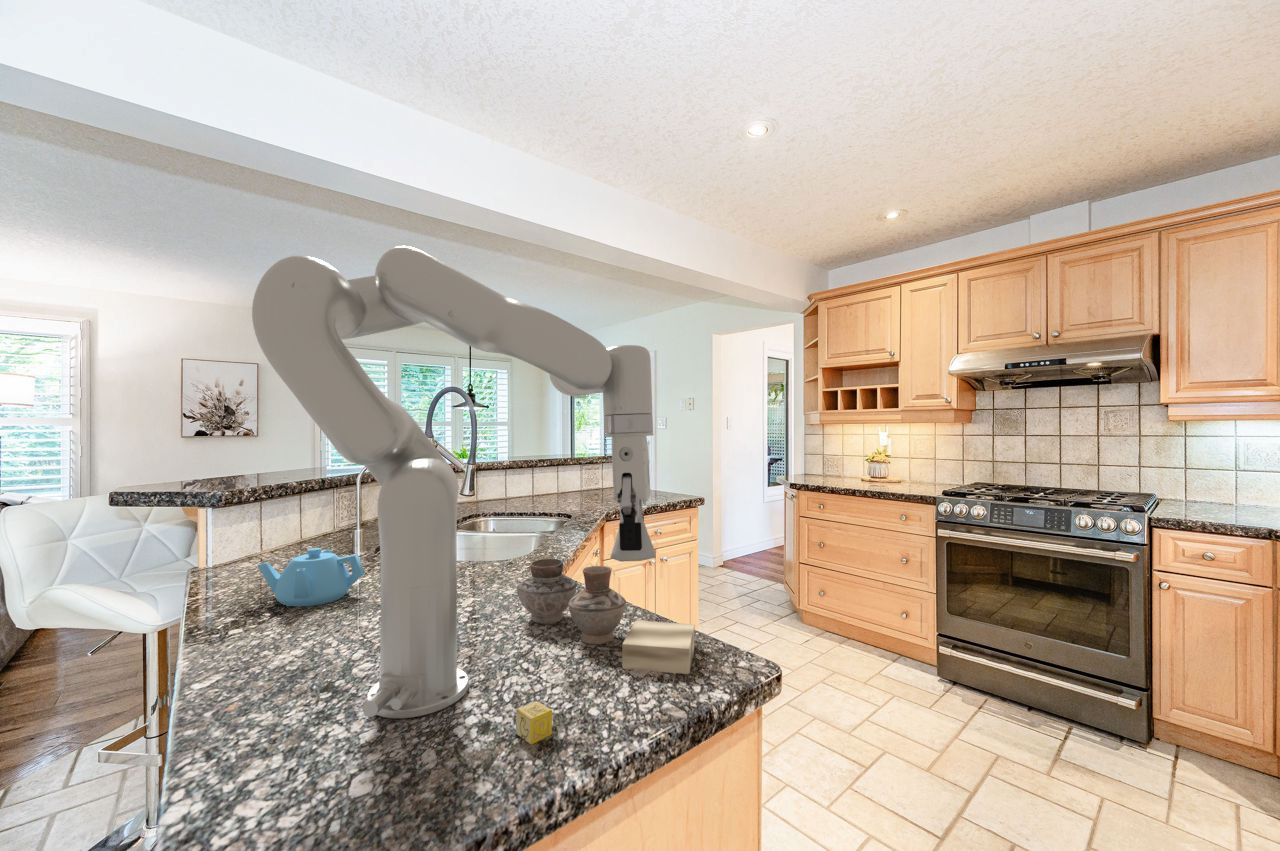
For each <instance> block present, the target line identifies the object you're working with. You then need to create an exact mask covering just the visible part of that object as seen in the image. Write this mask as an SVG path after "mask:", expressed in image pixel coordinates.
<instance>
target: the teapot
mask: <svg viewBox="0 0 1280 851" xmlns="http://www.w3.org/2000/svg"><path fill="white" fill-rule="evenodd" d="M322 551H323V552H322ZM332 551H333V550H332V549H324V550H323V548H321V547H313V548H307V550H306V553H307V554H302V555H298V556H295V557H293V558H292V559H290V561H289V562H288V564H286V567H285V568H284V569H283V571H281V574H280V573H279V572H278V571H277V570H276V569H275V568H274V567H273V566H272V565H271V564H270V563H269V562H263V563H259V564H258V565H257V567H258V569H259V571H260V572H261V574H262V576H263V577H264V579H265V581H266V583H267V584H268V586H269V588H270V589H271V591H272V593H273V594H274V597H275V600H276V601H278V603H280V604H281V605H282V604H283V606H284V605H286V606H285V607H288V606H307V607H313V606H314V605H315V606H319V605H320V606H321V605H324V604H329V603H332V602H335V601H337V600H340V599H342V598H343V597H344V596H345V595H346V594H347V593H348V592H349V590H350V589H351V587H352V585H353V584H355V583H356V582H357V581H358V580H359V579H360V578H361V577H362V576H363V575H365V574H366V573H365V570H364V566H363V565H362V561H361V559H360V556H359V554H358V553H356V554H351V555H346V556H342V557H339V556H338V555H337V554H336V553H334V552H332ZM346 563H349V565H350V569H351V571H352V573H351V574H350V572H349V571H348V568H347V566H346V565H345V564H346ZM341 597H342V598H341Z"/></svg>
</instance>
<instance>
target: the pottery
mask: <svg viewBox="0 0 1280 851" xmlns="http://www.w3.org/2000/svg"><path fill="white" fill-rule="evenodd" d="M529 566H530V573H531V575H530V576H528V577H527V578H526V579H524V580H523V581H522V582H519V583H518V585H517V586H516V591H517V592H516V594H517V596H518V599H519V602H520V603H521V605H522V606H523V608H524V609H525V610H526V611H527V612H528V613H530V614H531V621H532V622H534V623H536V624H542V625H543V624H554V623H557V622H559V621H561V620H563V617H564V616H563V614H564V613H563V612H564V611H566V610H567V608H568V609H569V614H570V616H571V620H572V621H573V623H574V625H575V626H576V628H577V629H578V630H579V631H581V636H580V640H581V641H582V642H583V643H585V644H588V645H605V644H608V643H611V642H612V641H614V639H615V635H614V630H615V629H617V628H618V626H619V624H620V623H621V620H622V618H623V616H624V614H625V613H624V612H625V609H626V604H627V601H626V599H625V597H623V595H621V594H620V593H619V592H617V591H615V590H614V589H613V588H611V587H610V580H611V575H612V572H613V568H612V567H610V566H604V565H603V566H602V565H594V566H593V565H592V566H586V567H584V568H582V573H583V578H584V586H585V588H584V589H582V590H581V591H580V592H578V593H577V594H576V592H577V589H578V588H577V586H578V585H577V584H578V583H577V582H576V581H575V580H574V579H572V578H571V577H569V576H567V575H565V574H563V570H564V569H563V568H564V562H563V560H562V559H558V558H541V559H537V560H533V561H531V562H530V565H529Z"/></svg>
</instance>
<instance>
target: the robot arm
mask: <svg viewBox="0 0 1280 851" xmlns="http://www.w3.org/2000/svg"><path fill="white" fill-rule="evenodd" d="M252 299H253V300H252V306H251V317H252V320H251V321H252V326H253V330H254V333H255V334H254V335H255V337H256V339H257V342H258V344H259V347H260V349H261V350H262V352H263V354H264V356H265V358H266V359H267V361H268V363H269V364H270V365H271V366H272V368H273V370H274V371H275V373H277V375H278V376H279V378H281V380H282V382H283V383H284V384H285V385H286V386H287V388H288V389H289V390H290V391H291V393H292V394H293V395H294V397H295V398H296V399H297V400H298V402H299V403H300V405H301V407H302V408H303V410H305V411H306V413H307V414H308V415H309V416H310V417H311V419H312V420H313V421H314V423H315V424H316V425H317V426H318V427H319V429H320V430H321V431H322V432H323V433H324V435H325V437H326V438H327V439H328V440H329V442H330V443H331V445H332V446H333V447H334V449H335V450H336V451H337V453H338V454H339V455H340V456H341V457H342V458H343V459H345V460H347V461H348V462H350V463H353V464H356V465H358V466H364V467H365V468H366V469H367V471H368V472H369V474H370V475H372V477H373V478H374V479H375V480H376V481H377V483H378V484H379V485H380V486H381V487H380V489H379V492H378V493H379V494H378V498H377V524H378V537H379V554H380V555H379V560H380V562H379V563H380V567H379V568H380V571H379V573H380V575H379V577H380V581H379V582H380V648H379V649H380V655H379V656H380V658H379V659H380V663H379V664H380V665H379V666H380V667H379V668H380V669H379V670H380V672H379V673H380V674H379V677H378V682H377V683H376V684H374V685H373V686H371V689H370V690H369V691H368V693H367V695H366V701H365V702H363V705H362V712H363V714H364V715H365V716H366V717H369V718H372V717H375V716H379V717H381V718H386V719H409V718H415V717H422V716H427V715H429V714H433V713H435V712H439V711H441V710H444V709H446V708H448V707H450V706H452V705H453V704H455V703H457V702H458V701H459V700H461V699H462V698H463V697H464V695H465V694H466V693H467V692H468V689H469V681H470V680H469V679H470V678H469V675H468V674H467V673H466V672H465V671H464V670H462V669H460V668H458V574H457V573H458V568H457V566H458V565H457V563H458V562H457V561H458V558H457V557H458V553H457V552H458V549H457V547H458V546H457V544H458V542H457V540H458V539H457V537H458V536H457V535H458V534H457V533H458V531H457V529H458V527H457V524H458V522H457V520H458V519H457V518H458V498H459V488H460V487H459V481H458V477H457V474H456V473H455V472H454V470H453V468H452V466H450V464H449V463H448V461H447V460H446V459H445V458H444V456H443V455H442V454H441V452H439V450H438V449H437V447H436V446H435V445H434V444H433V442H432V440H430V438H429V437H428V436H427V435H426V433H425V432H424V431H423V430H422V428H421V427H420V425H419V424H418V423H417V422H416V420H415V419H414V418H413V417H412V415H411V414H410V413H409V412H408V411H407V410H406V409H405V408H403V406H401V405H400V404H398V403H397V402H395V401H392V400H391V399H390V398H388V397H387V396H386V395H385V394H384V393H383V391H381V390H380V388H379V387H378V386H377V385H376V384H375V382H374V381H373V380H372V379H371V377H370V376H369V375H368V374H367V372H366V371H365V370H364V368H363V366H362V365H361V364H360V362H359V361H358V360H357V358H356V357H355V356H354V355H353V354H352V353H351V352H350V350H349V349H348V348H347V346H346V345H345V343H344V342H343V340H349V339H355V338H361V337H365V336H370V335H375V334H380V333H384V332H385V333H386V332H390V331H393V330H398V329H403V328H407V327H411V326H415V325H418V324H422V323H424V324H425V323H426V324H428V325H430V326H431V327H434V328H436V329H437V330H439V331H441V332H443V333H444V334H447V335H448V336H451V337H453V338H454V339H456V340H458V341H459V342H460V341H461V342H462V343H464V344H466V345H468V346H469V347H471V348H473V349H476V350H480V351H482V352H486V353H492V354H493V353H495V354H500V355H506V356H509V357H513V358H515V359H518V360H521V361H523V362H525V363H528V364H529V365H531V366H534V367H536V368H538V369H540V370H542V371H544V372H545V373H547V374H549V375H548V376H549V380H550V381H551V384H552V386H554V388H555V390H557V391H558V392H560V393H561V394H564V395H566V396H569V397H581V396H587V395H588V396H589V395H592V394H602V402H603V405H602V407H603V430H604V436H603V437H604V438H611V458H612V459H611V464H612V465H611V468H612V486H613V498H614V501H615V502H616V504H617V503H618V504H619V523H618V525H619V526H618V530H619V532H620V549H621V550H622V551H637V550H641V549H642V535H641V523H639V500H640V508H641V513H642V518H643V520H644V521H645V516H644V515H643V514H644V511H643V510H644V509H643V504H645V503H647V502H648V501H649V500H650V498H651V495H652V493H651V481H650V480H651V478H650V476H651V475H650V458H649V457H650V456H649V446H648V438H647V437H649V436H654V422H653V421H654V420H653V419H654V418H653V417H654V416H653V394H652V393H653V392H652V391H653V390H652V388H653V387H652V386H653V384H652V368H651V367H652V364H651V355H650V354H651V353H650V351H649V350H648V348H646V347H644V346H641V345H634V344H625V345H624V344H621V345H613V346H610V347H605V345H604V344H603V343H602V342H601V341H600V340H598V339H597V338H596V337H595V336H593V335H591V334H589V333H588V332H586V331H584V330H582V329H581V328H579V327H577V326H576V325H573V324H572V323H570V322H568V321H566V320H565V319H563V318H561V317H559V316H557V315H556V314H554V313H550V312H548V311H546V310H543V309H541V308H538V307H536V306H533V305H530V304H527V303H524V302H522V301H520V300H517V299H515V298H511V297H508V296H505V295H503V294H502V293H499V292H497V291H495V290H494V289H492V288H490V287H488V286H487V285H485V284H482V283H481V282H479V281H478V280H475V279H474V278H472V277H471V276H468V275H466V274H465V273H463V272H461V271H459V270H457V269H455V268H454V267H453V266H451V265H448V264H447V263H445V262H443V261H442V260H440V259H438V258H436V257H434V256H432V255H431V254H429V253H427V252H425V251H423V250H421V249H418V248H415V247H412V246H406V245H402V246H401V245H399V246H395V247H393V248H390V249H388V250H386V251H385V253H383V254H382V255H381V257H380V258H379V260H378V262H377V265H376V266H375V272H374V275H370V276H364V277H359V278H357V277H356V278H351V279H348V280H347V278H345V276H344V275H343V274H342V272H340V271H339V270H337V269H336V268H335V267H334V266H332V265H331V264H329V263H328V262H325V261H323V260H321V259H318V258H315V257H313V256H312V257H311V256H306V255H292V256H291V255H290V256H287V257H284V258H281V259H279V260H277V261H276V262H275V263H274V264H273V265H271V266H270V267H269V268H268V269H267V270H266V272H264V274H263V276H262V277H261V278H260V280H259V283H258V285H257V287H256V289H255V292H254V295H253V298H252ZM631 499H636V501H634V502H631ZM632 506H635V509H634V507H632Z"/></svg>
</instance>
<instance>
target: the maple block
mask: <svg viewBox="0 0 1280 851" xmlns="http://www.w3.org/2000/svg"><path fill="white" fill-rule="evenodd" d="M695 626H696V624H695V623H694V624H693V623H681V622H663V621H652V620H651V621H647V620H634V622H633V623H632V626H631V628H630V629H629V631H628V633H627V634H626V637H625V638H624V640H623V642H622V644H621V645H622V648H621V649H622V652H621V653H622V654H621V655H622V656H621V657H622V662H621V663H622V665H621V666H622V669H623V670H632V669H634V670H633V671H645V670H647V671H648V672H657V671H659V672H660V673H670V674H671V673H673V674H683V675H689V674H690V673H691V667H692V662H693V656H694V651H695V648H696V647H695V645H696V644H695V642H696V641H695V639H696V638H695V637H696V636H695V634H696V633H695V632H696V631H695V628H696V627H695ZM694 631H695V632H694ZM635 669H637V670H635Z"/></svg>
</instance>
